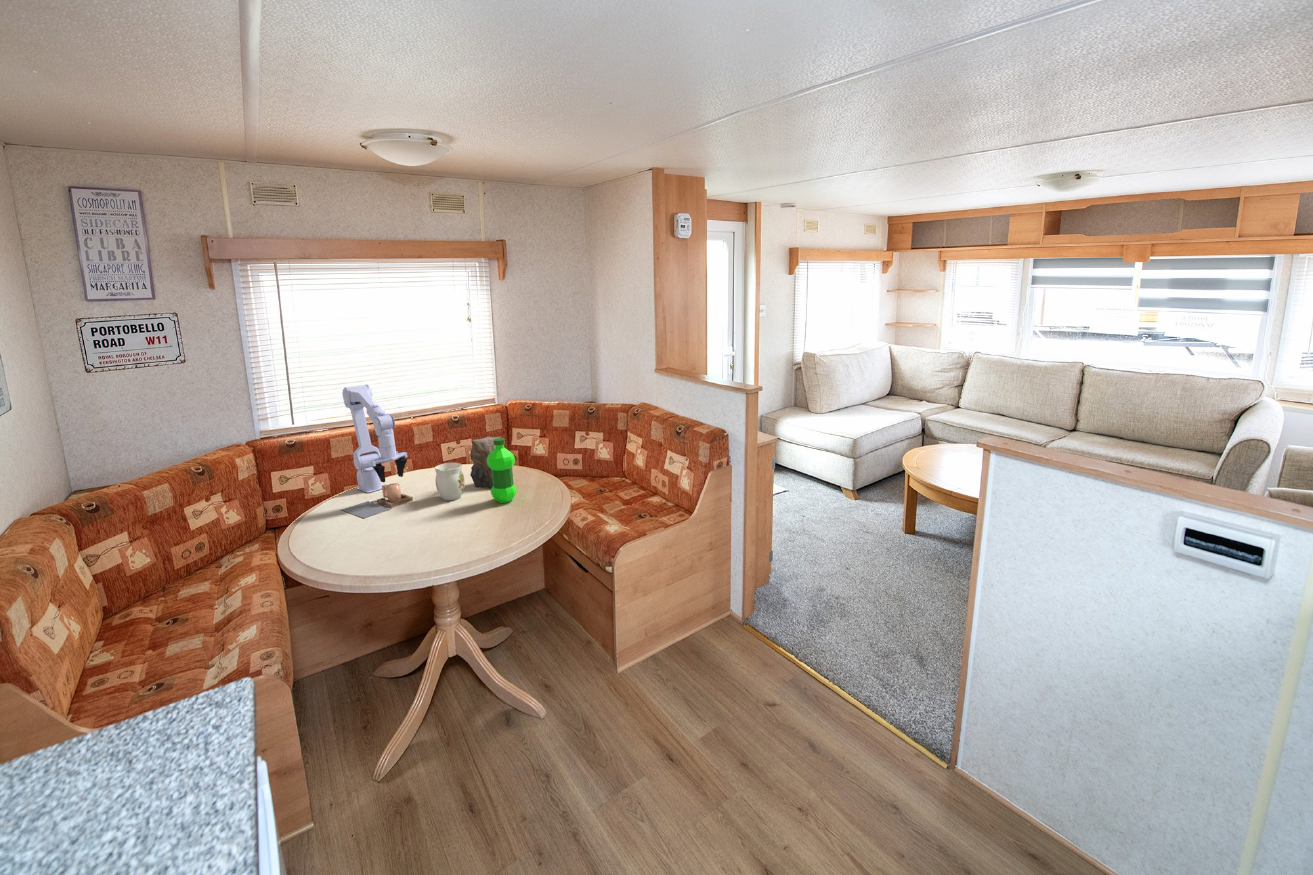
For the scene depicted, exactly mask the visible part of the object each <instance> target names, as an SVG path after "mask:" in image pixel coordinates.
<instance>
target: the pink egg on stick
mask: <svg viewBox="0 0 1313 875" xmlns="http://www.w3.org/2000/svg"><path fill="white" fill-rule="evenodd" d="M381 485H382V489H381V490H382V496H383V497H382V498H385V499H387V502H389V503H393V502H396V501H399V500H402V498H401V494H402V493H401V486H400V483H396V482H395V483H394V482H393V483H389V484H385V483H384V484H381Z"/></svg>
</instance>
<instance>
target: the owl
mask: <svg viewBox="0 0 1313 875" xmlns="http://www.w3.org/2000/svg"><path fill="white" fill-rule="evenodd" d="M497 438H502V436H501V435H500V436H491V435H489V436H485V437H484V438H479V439H472V440H471V444H472V446H471V448H470V453H469V454H470V455H469V456H470V460H471V462H473V464H472V466H471V468H470V469H471V471H470V474H469V475H470V478H471V479H472V481H473V482H472V483H473V484H474V488H481V489H490V490H491V489H492V487H493V482H492V472H491V468H490V467H489V466H488V464H487V457H488V455H489V454H490V453H491V452H492V451H493V450H494V449H495V445H494V443H493V440H494V439H497Z"/></svg>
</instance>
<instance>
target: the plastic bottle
mask: <svg viewBox="0 0 1313 875" xmlns="http://www.w3.org/2000/svg"><path fill="white" fill-rule="evenodd" d="M505 440H506V439H505V438H503V437H501V438H497V439H494V440H493V443H494V445H495V449H494V450H493V451H492V452H491V453H490V454H489V455H488V457H487V464H488V466H489V467H490V468H491V472H492V482H493V487H492V489H490V495H491V496H492V498H493V499H494V500H495V501H496V502H498V503H500V504H506V503H507V504H508V503H511V502H512V501H513V499H514V498H515V497H516V495H517V493H518V491H517V489H518V488H516V485H515V484H514V475H513V474H514V473H513V466H514V465H515V463H516V458H515V455H514V454H513V453H512V452H511V451H510V450H508V449H507V448H505V444H506V441H505Z"/></svg>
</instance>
